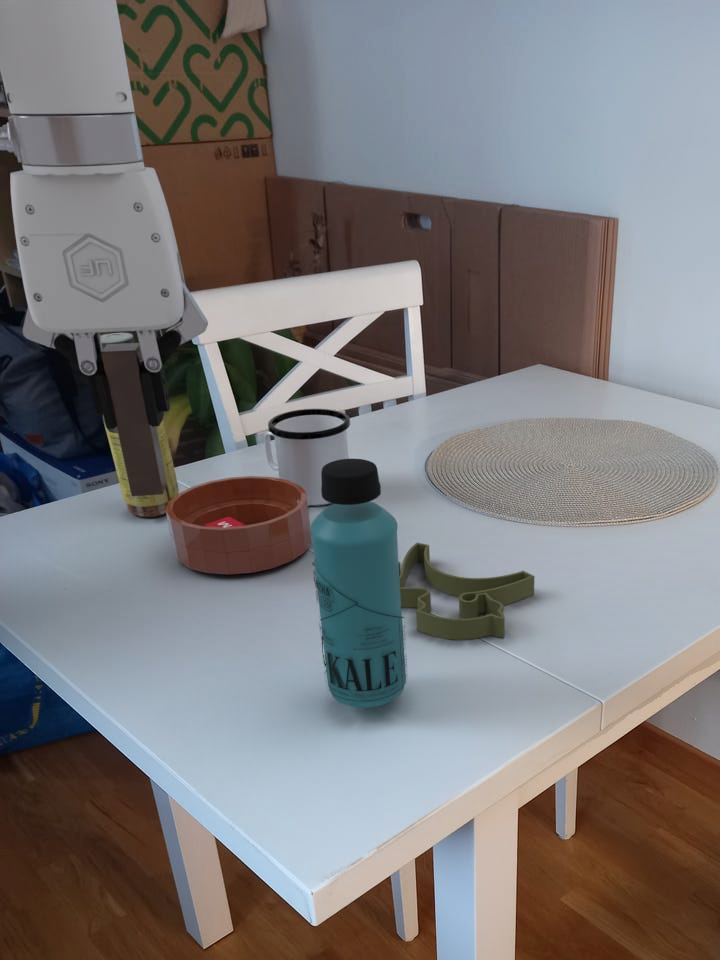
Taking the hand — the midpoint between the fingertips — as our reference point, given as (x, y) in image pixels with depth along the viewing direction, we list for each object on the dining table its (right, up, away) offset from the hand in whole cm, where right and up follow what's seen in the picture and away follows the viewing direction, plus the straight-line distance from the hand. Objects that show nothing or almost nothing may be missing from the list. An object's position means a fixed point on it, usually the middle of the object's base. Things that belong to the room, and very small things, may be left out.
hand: (135, 420), depth 70 cm
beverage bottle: (+17, -22, +4) cm, 28 cm away
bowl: (+1, -7, +29) cm, 30 cm away
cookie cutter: (+22, -13, +19) cm, 32 cm away
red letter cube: (0, -7, +27) cm, 28 cm away
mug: (+5, +1, +43) cm, 43 cm away
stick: (0, -5, +3) cm, 6 cm away
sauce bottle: (-12, -1, +38) cm, 40 cm away
